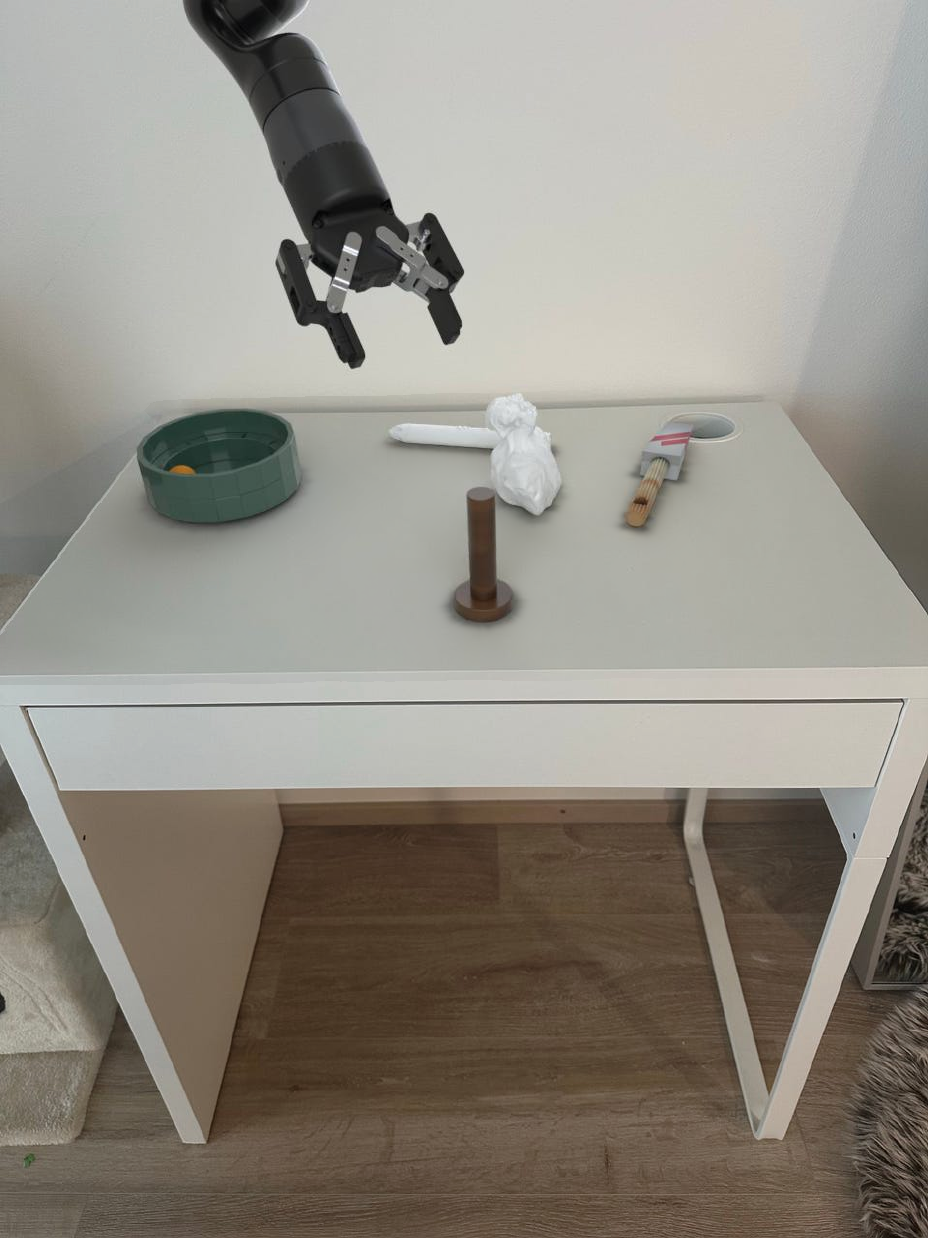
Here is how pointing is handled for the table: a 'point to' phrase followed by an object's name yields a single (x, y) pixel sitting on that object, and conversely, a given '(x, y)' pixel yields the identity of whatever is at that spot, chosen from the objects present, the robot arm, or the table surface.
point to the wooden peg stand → (482, 563)
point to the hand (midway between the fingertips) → (407, 351)
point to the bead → (182, 470)
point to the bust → (521, 455)
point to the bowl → (220, 464)
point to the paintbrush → (659, 467)
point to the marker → (448, 435)
